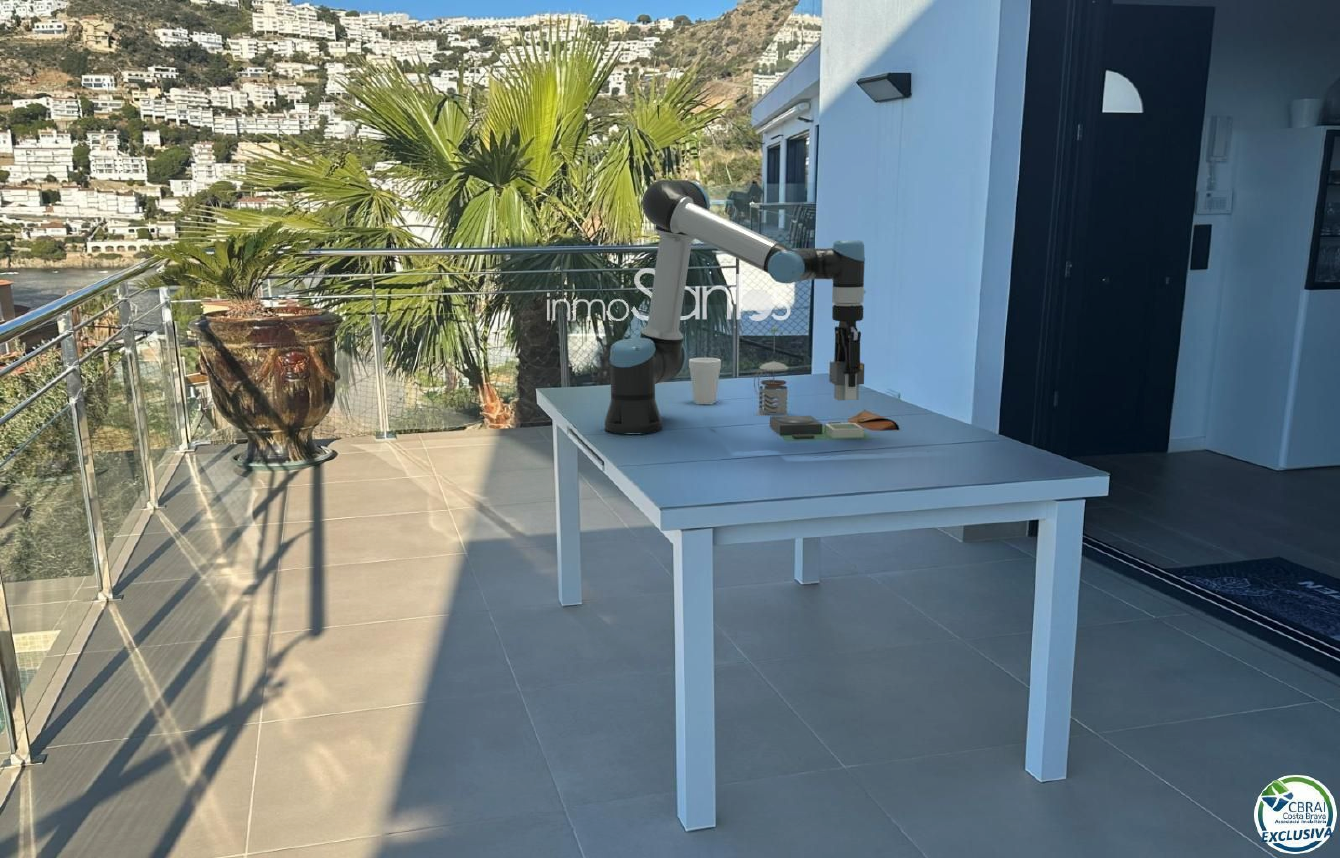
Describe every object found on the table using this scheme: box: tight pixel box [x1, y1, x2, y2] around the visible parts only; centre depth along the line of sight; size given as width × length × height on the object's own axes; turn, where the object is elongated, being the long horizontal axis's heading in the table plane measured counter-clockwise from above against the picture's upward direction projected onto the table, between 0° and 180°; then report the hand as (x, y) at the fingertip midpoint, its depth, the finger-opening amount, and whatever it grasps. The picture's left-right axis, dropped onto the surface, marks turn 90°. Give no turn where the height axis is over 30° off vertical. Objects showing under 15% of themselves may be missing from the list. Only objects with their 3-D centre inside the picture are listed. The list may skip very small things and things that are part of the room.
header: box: [824, 422, 865, 438], centre depth 258 cm, size 8×7×2 cm
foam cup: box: [688, 357, 722, 405], centre depth 307 cm, size 10×9×13 cm
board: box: [774, 421, 873, 442], centre depth 261 cm, size 22×18×3 cm
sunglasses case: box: [847, 408, 900, 432], centre depth 271 cm, size 18×7×7 cm, turn 18°
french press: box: [753, 326, 789, 416], centre depth 286 cm, size 10×12×25 cm
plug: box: [829, 361, 865, 401], centre depth 255 cm, size 7×6×9 cm
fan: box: [769, 415, 824, 436], centre depth 264 cm, size 11×11×3 cm
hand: (846, 397), depth 256 cm, fingers closed on plug, 6 cm apart
